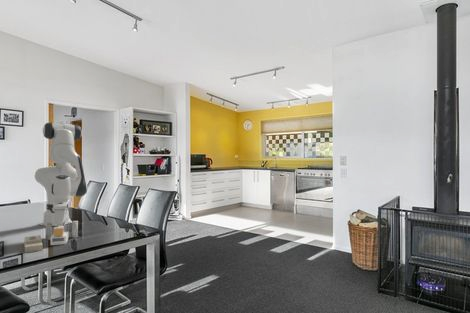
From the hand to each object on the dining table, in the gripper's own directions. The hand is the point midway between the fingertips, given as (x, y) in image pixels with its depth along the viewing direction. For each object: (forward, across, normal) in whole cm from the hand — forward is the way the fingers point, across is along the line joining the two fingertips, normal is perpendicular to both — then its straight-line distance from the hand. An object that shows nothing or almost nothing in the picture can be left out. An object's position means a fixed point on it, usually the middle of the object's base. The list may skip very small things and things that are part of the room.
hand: (61, 228), depth 172 cm
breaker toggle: (+1, +12, 0) cm, 12 cm away
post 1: (+5, 0, -6) cm, 8 cm away
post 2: (+5, 0, +7) cm, 9 cm away
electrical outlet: (+6, +14, -11) cm, 19 cm away
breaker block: (+5, +8, 0) cm, 10 cm away
